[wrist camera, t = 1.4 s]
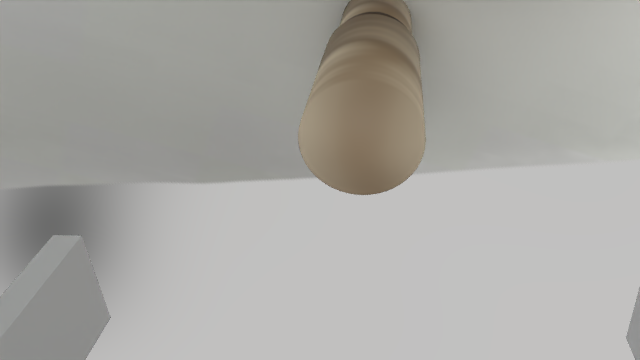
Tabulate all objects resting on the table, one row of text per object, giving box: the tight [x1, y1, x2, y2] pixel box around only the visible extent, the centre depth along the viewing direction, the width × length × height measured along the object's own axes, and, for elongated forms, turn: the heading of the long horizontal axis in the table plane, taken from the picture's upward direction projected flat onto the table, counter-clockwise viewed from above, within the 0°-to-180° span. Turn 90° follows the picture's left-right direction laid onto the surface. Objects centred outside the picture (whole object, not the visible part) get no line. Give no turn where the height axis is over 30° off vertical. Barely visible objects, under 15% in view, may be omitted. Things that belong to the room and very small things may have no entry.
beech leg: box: [298, 0, 426, 195], centre depth 26 cm, size 4×4×14 cm
